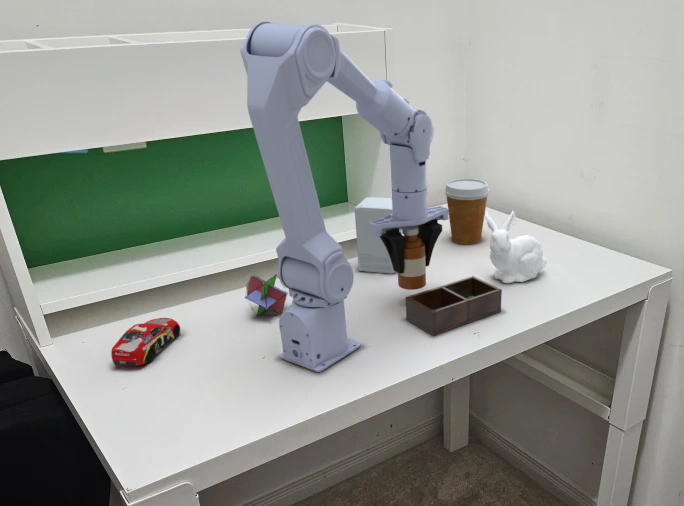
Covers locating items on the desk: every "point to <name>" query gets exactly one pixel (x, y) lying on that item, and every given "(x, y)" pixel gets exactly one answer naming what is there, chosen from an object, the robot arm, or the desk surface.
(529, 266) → the rabbit
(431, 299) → the wooden compartment tray
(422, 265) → the amber bottle
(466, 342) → the desk surface
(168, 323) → the race car
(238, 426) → the desk surface
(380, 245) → the white packaging box
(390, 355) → the desk surface
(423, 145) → the robot arm
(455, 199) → the disposable coffee cup
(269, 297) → the geometric puzzle
